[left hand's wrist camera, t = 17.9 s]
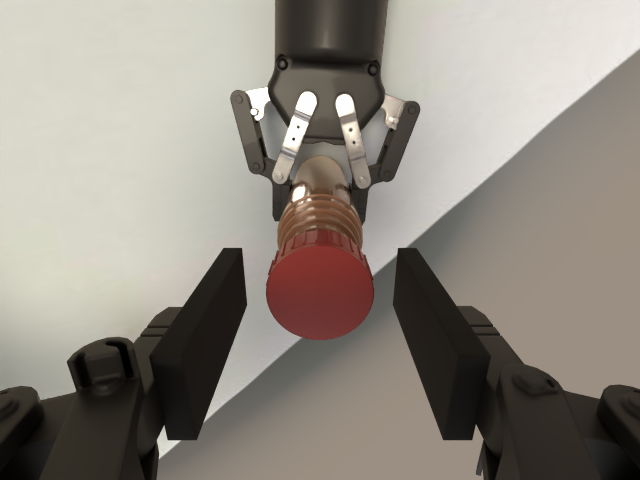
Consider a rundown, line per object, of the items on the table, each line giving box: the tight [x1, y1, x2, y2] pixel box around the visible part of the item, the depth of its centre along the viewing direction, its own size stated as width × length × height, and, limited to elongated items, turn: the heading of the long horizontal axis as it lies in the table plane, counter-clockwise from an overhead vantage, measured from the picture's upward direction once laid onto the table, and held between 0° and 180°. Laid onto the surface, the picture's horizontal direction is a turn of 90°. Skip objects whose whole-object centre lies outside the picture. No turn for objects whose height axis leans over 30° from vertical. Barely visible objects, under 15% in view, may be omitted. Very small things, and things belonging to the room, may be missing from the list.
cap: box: [266, 229, 374, 340], centre depth 14 cm, size 4×4×2 cm
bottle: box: [277, 156, 363, 250], centre depth 24 cm, size 5×5×22 cm
